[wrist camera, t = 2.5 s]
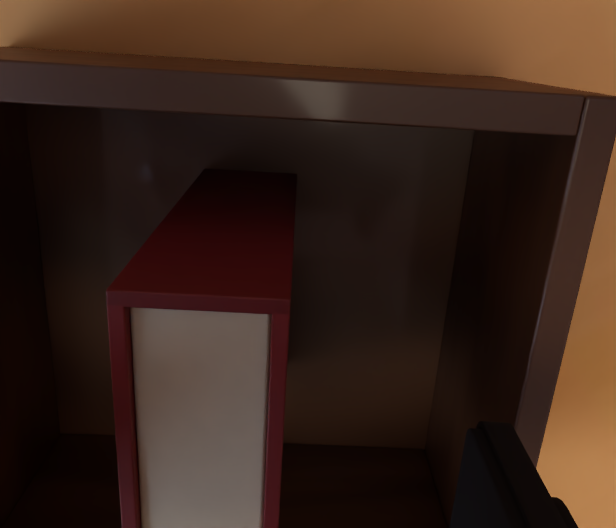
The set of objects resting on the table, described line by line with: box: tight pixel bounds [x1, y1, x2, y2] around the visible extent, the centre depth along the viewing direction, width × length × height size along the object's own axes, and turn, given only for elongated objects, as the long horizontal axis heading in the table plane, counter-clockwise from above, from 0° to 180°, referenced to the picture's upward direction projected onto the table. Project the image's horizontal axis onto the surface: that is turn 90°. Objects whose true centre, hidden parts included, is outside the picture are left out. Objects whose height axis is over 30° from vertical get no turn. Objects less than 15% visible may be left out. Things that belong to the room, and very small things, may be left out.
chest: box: [0, 47, 616, 528], centre depth 17 cm, size 15×16×8 cm
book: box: [106, 168, 297, 528], centre depth 15 cm, size 7×3×10 cm, turn 177°
